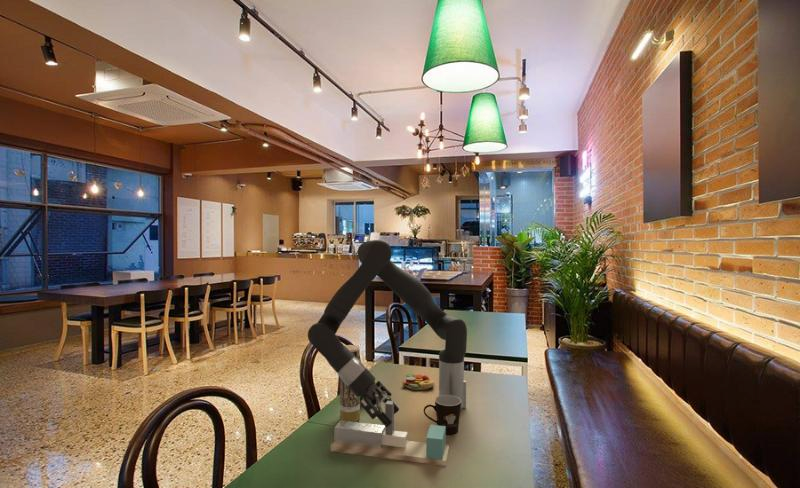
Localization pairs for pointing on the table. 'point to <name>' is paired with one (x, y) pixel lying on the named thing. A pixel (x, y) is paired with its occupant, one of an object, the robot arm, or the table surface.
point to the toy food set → (418, 382)
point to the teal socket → (436, 442)
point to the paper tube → (349, 395)
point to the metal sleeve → (359, 434)
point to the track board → (395, 452)
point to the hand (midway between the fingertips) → (393, 418)
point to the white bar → (389, 434)
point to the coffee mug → (447, 412)
